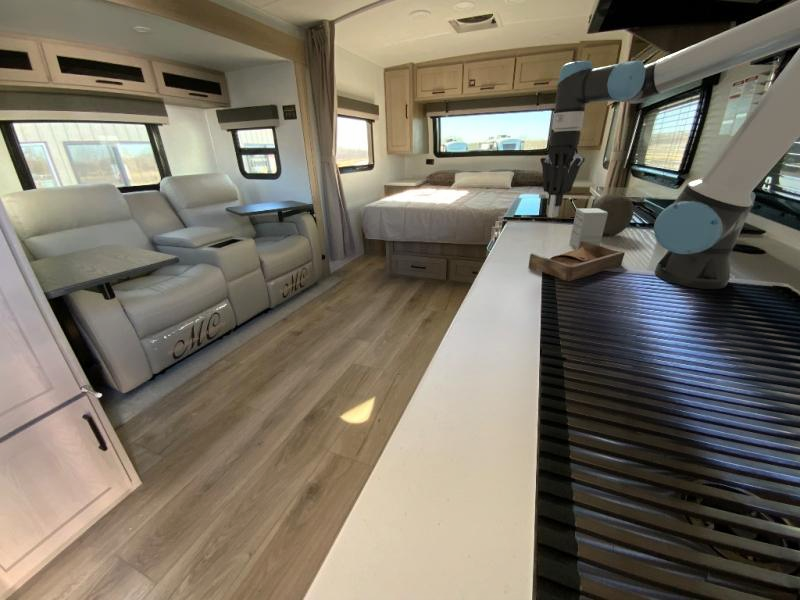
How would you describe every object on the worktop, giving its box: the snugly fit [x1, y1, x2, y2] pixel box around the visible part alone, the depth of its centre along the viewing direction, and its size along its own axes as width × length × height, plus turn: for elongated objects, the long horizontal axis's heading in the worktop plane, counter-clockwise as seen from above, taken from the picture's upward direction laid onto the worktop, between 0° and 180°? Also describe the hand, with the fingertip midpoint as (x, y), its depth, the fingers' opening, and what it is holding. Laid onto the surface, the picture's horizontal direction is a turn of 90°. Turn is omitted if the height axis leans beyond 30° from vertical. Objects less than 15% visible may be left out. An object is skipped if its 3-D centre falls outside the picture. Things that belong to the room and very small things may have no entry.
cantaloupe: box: [591, 193, 635, 237], centre depth 124 cm, size 14×14×15 cm
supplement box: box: [569, 207, 608, 250], centre depth 112 cm, size 7×7×13 cm
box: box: [528, 241, 626, 283], centre depth 98 cm, size 14×24×4 cm, turn 119°
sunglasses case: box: [549, 247, 596, 266], centre depth 99 cm, size 18×7×7 cm, turn 126°
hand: (552, 216), depth 101 cm, fingers closed
